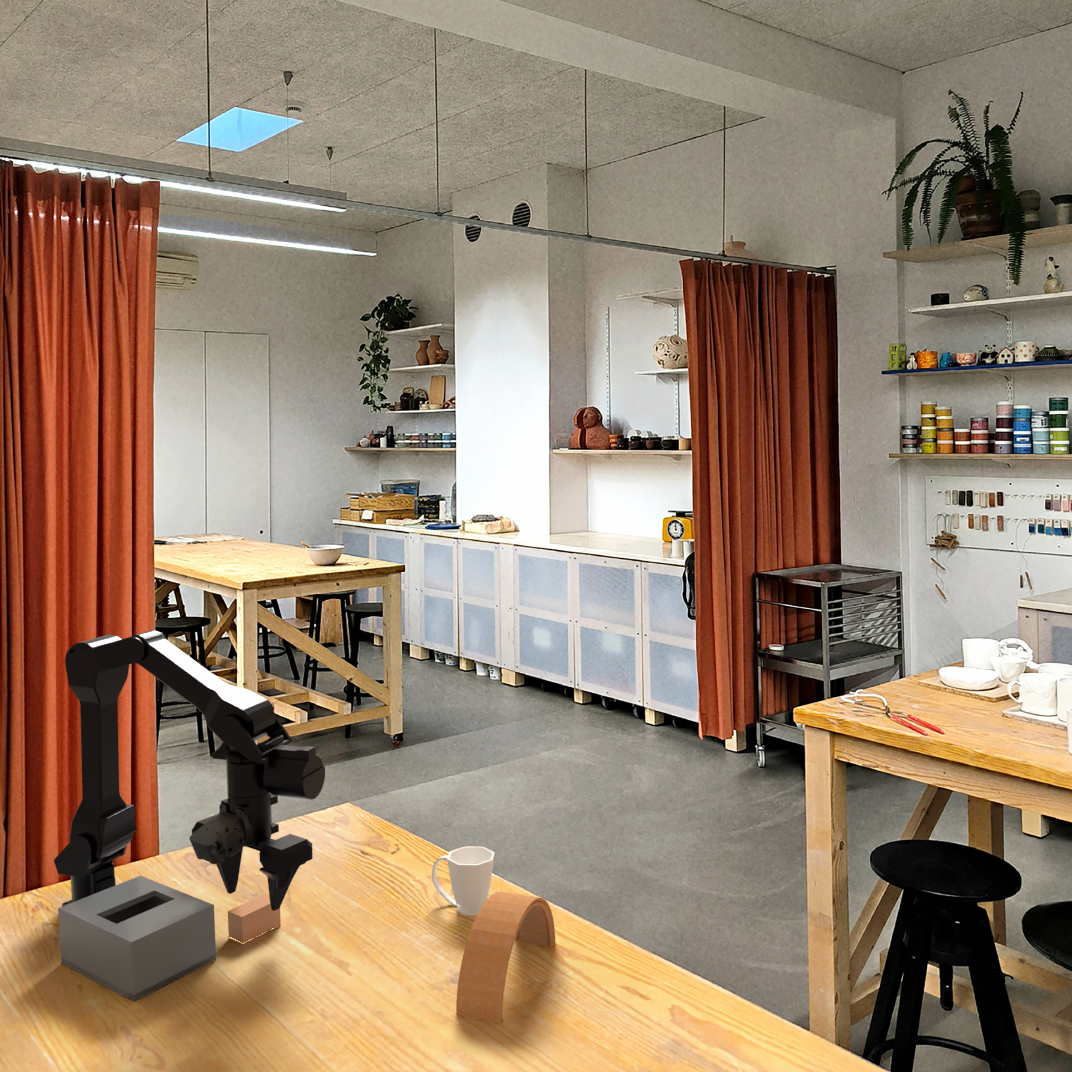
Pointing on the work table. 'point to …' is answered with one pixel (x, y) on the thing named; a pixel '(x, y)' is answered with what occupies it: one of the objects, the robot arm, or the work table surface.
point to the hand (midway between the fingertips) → (253, 901)
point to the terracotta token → (252, 919)
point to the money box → (137, 936)
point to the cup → (467, 878)
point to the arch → (498, 950)
